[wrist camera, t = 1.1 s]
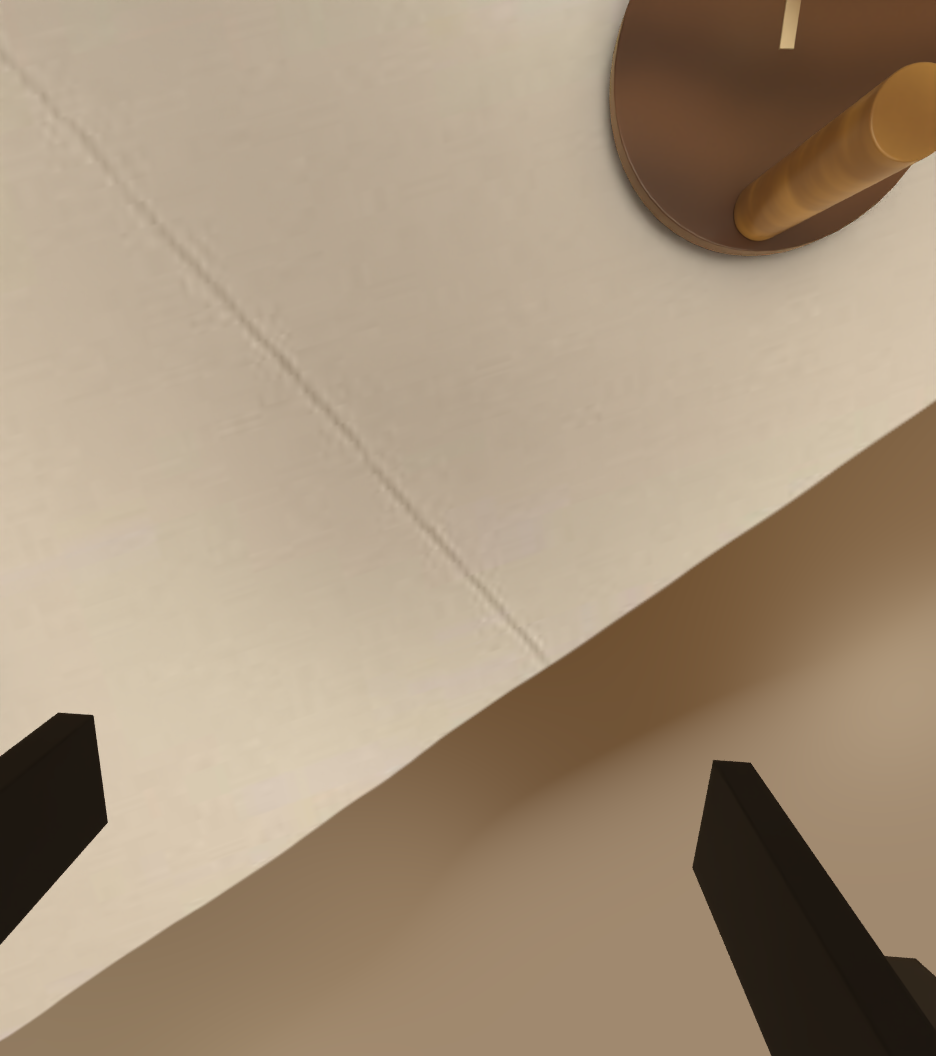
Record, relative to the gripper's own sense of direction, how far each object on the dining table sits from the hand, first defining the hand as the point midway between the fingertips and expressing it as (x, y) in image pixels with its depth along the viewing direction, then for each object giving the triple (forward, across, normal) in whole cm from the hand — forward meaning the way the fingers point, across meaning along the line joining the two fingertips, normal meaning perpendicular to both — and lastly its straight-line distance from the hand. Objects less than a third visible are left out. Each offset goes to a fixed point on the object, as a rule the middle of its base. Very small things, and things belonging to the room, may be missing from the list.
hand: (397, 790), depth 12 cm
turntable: (+25, +15, +25) cm, 38 cm away
